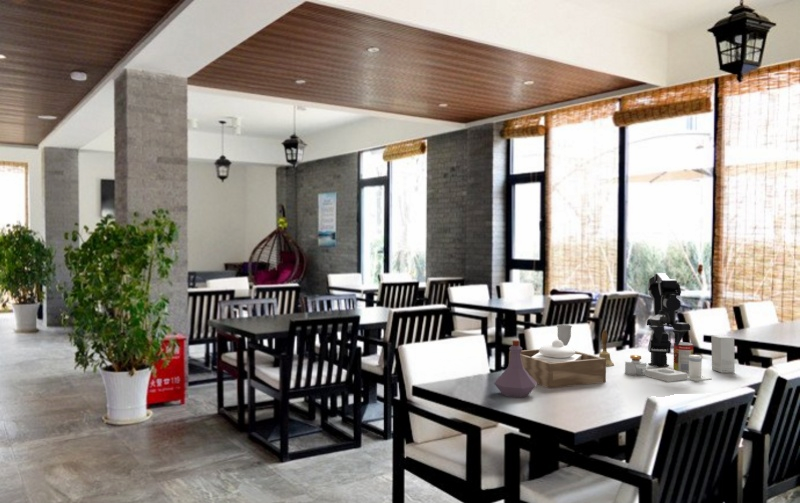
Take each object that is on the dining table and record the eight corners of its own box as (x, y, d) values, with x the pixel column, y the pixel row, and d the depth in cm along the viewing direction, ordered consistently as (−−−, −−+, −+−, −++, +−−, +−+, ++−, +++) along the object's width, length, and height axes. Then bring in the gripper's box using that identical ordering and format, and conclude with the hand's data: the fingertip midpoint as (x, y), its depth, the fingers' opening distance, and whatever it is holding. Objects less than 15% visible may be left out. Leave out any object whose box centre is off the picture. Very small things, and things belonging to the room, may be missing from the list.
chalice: (552, 363, 286) (553, 325, 285) (564, 362, 289) (564, 324, 288) (563, 366, 279) (563, 327, 279) (574, 365, 282) (575, 326, 282)
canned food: (688, 368, 277) (689, 342, 277) (695, 372, 269) (696, 345, 269) (670, 368, 278) (671, 341, 277) (676, 371, 270) (677, 344, 270)
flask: (506, 387, 239) (507, 336, 239) (545, 393, 229) (546, 340, 228) (484, 395, 227) (485, 341, 226) (524, 402, 216) (525, 346, 216)
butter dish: (529, 379, 252) (529, 340, 252) (540, 370, 268) (541, 334, 268) (572, 384, 244) (573, 344, 244) (581, 375, 260) (582, 338, 260)
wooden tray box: (508, 373, 263) (509, 351, 263) (561, 368, 275) (561, 347, 274) (549, 388, 238) (549, 363, 238) (605, 381, 249) (606, 358, 249)
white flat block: (645, 375, 262) (645, 369, 262) (664, 373, 266) (664, 367, 266) (667, 381, 251) (667, 375, 251) (687, 379, 255) (687, 373, 255)
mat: (678, 376, 260) (678, 375, 260) (693, 374, 264) (693, 374, 264) (696, 381, 252) (696, 380, 252) (711, 379, 255) (711, 378, 255)
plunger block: (625, 373, 266) (625, 361, 266) (635, 371, 269) (635, 360, 269) (635, 375, 261) (635, 364, 261) (646, 374, 263) (646, 363, 263)
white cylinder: (685, 376, 259) (686, 355, 259) (694, 375, 261) (694, 354, 261) (695, 378, 254) (696, 357, 254) (704, 377, 256) (704, 356, 256)
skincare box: (734, 373, 268) (735, 337, 268) (719, 373, 268) (720, 337, 268) (725, 369, 276) (725, 334, 276) (710, 369, 276) (710, 334, 276)
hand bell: (595, 365, 282) (595, 331, 282) (595, 362, 290) (595, 328, 290) (614, 366, 280) (615, 332, 279) (613, 363, 288) (614, 329, 287)
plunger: (627, 371, 266) (628, 355, 266) (635, 370, 268) (635, 354, 267) (635, 373, 262) (635, 357, 262) (643, 372, 264) (643, 356, 263)
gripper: (637, 306, 269) (637, 342, 269) (672, 311, 252) (671, 349, 252) (656, 305, 273) (655, 340, 274) (691, 310, 256) (690, 347, 257)
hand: (667, 344), depth 264 cm, fingers open, 9 cm apart
